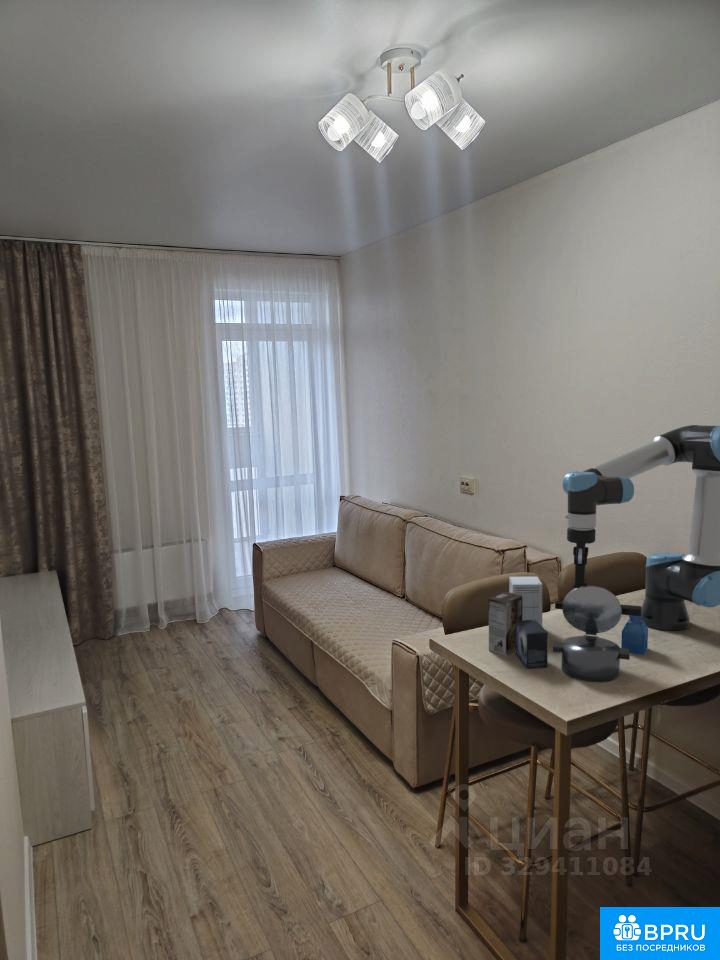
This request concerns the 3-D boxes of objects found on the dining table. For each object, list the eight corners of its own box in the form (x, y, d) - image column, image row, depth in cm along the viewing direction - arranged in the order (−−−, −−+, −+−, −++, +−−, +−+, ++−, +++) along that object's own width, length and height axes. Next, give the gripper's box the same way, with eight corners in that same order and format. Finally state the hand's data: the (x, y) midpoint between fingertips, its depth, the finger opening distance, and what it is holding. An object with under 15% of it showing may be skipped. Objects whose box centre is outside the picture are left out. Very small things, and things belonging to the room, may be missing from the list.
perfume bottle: (643, 655, 189) (645, 615, 187) (621, 651, 192) (622, 612, 191) (647, 648, 194) (648, 609, 193) (625, 644, 197) (626, 606, 196)
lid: (639, 639, 182) (639, 634, 184) (642, 590, 175) (642, 585, 177) (555, 631, 190) (555, 626, 192) (554, 584, 183) (555, 579, 185)
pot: (627, 662, 184) (628, 638, 184) (629, 686, 169) (630, 660, 168) (554, 654, 191) (555, 631, 190) (550, 677, 176) (551, 652, 175)
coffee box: (504, 642, 202) (504, 591, 200) (523, 647, 197) (523, 595, 195) (487, 650, 195) (487, 598, 193) (506, 656, 191) (506, 602, 189)
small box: (513, 654, 192) (513, 620, 191) (535, 653, 192) (535, 618, 191) (525, 669, 181) (525, 632, 180) (548, 668, 182) (549, 631, 181)
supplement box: (538, 626, 215) (538, 576, 213) (543, 636, 206) (543, 584, 203) (508, 625, 216) (508, 575, 214) (512, 636, 207) (512, 583, 204)
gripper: (568, 522, 190) (567, 601, 194) (565, 531, 178) (564, 615, 182) (596, 523, 188) (594, 603, 191) (595, 533, 176) (593, 618, 179)
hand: (579, 609), depth 186 cm, fingers closed
